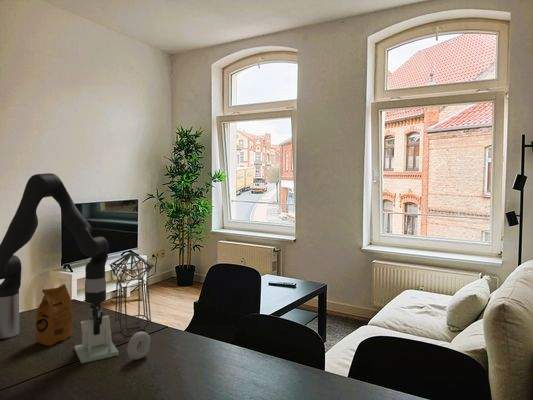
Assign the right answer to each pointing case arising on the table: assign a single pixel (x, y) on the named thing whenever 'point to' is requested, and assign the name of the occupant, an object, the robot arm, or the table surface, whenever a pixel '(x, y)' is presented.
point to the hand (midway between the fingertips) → (95, 333)
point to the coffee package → (54, 316)
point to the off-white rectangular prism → (88, 327)
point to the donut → (134, 342)
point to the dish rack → (96, 349)
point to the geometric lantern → (131, 286)
